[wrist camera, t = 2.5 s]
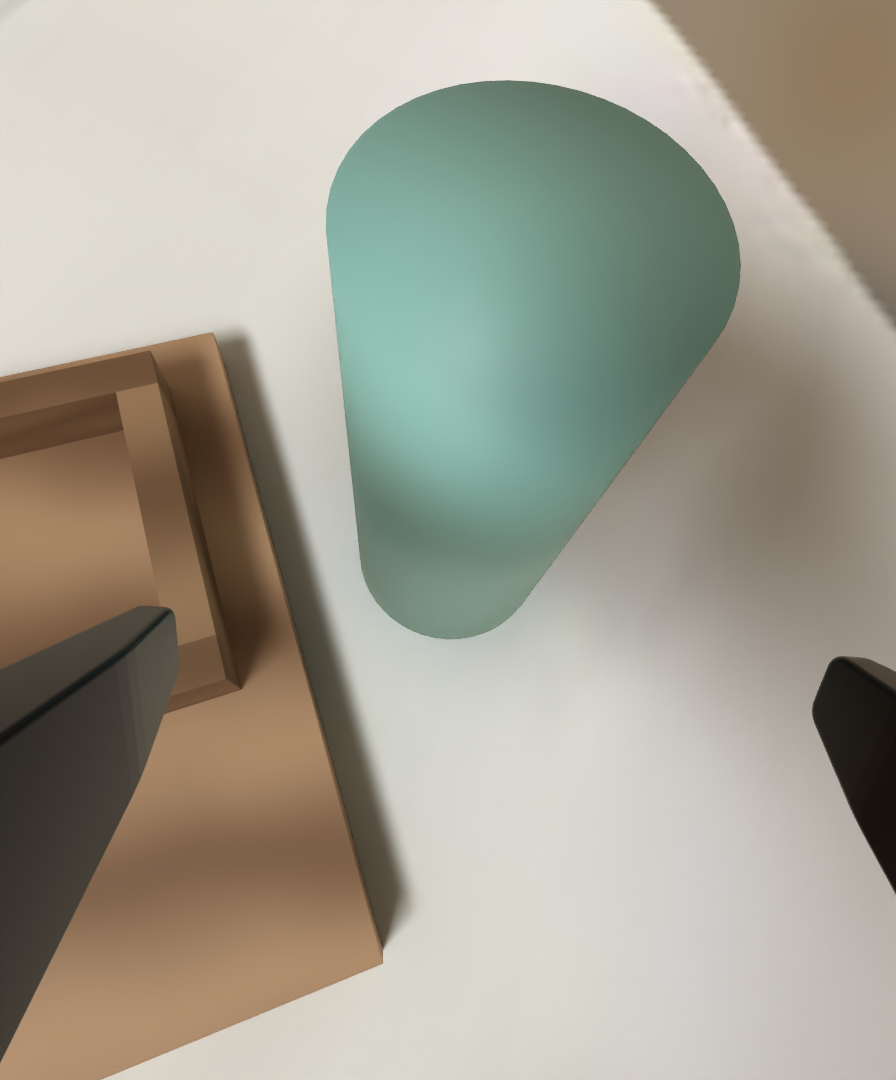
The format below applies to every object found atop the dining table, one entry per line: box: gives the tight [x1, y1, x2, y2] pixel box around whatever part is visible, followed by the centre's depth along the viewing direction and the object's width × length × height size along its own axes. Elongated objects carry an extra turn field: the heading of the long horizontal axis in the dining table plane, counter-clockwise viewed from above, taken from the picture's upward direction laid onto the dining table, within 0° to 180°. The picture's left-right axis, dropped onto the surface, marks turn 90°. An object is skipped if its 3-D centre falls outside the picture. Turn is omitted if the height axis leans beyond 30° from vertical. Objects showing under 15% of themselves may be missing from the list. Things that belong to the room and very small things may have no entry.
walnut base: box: [0, 332, 383, 1080], centre depth 18 cm, size 20×14×4 cm
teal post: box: [326, 80, 741, 639], centre depth 16 cm, size 6×6×14 cm
